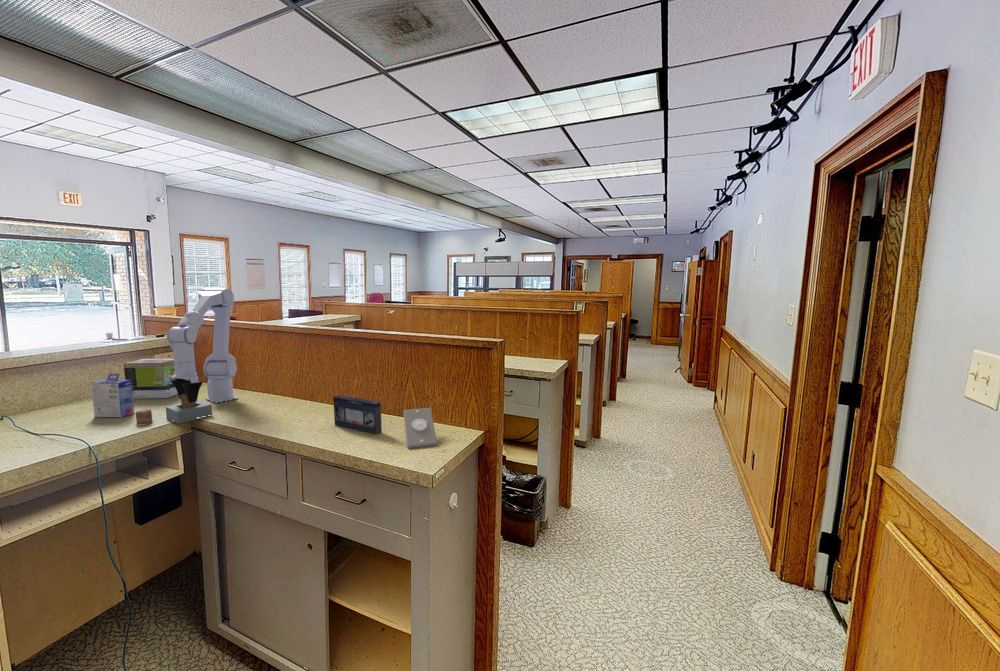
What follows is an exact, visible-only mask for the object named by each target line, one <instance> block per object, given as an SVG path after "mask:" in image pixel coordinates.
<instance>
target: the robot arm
mask: <svg viewBox="0 0 1000 671" xmlns="http://www.w3.org/2000/svg"><path fill="white" fill-rule="evenodd" d="M197 294H198V300H197V302H196V304H195V306H194V308H193V309H192V311H186V313H185V314H184V315H183V317H182V318H181V319H180V320H179V322H178V323H177V324H176V326H173V327H171V328H169V329H168V330H167V333H166V334H167V335H166V339H167V342H168V343H169V346H170V349H171V350H172V355H173V356H172V359H174V368H175V372H174V376H171V378H173V379H172V380H170V381H171V382H172V383H173V385H174V386H175V388H176V390H177V393H178V394H177V395H178V396H177V397H178V398H179V399H180V400H181V395H182V394H187V398H188V401H189V403H192V402H197V400H198V399H199V393H200V389H201V387H202V386H203V381H202V380H199V376H198V375H197V374H198V373H197V371H196V370H197V369H196V360H195V348H194V347H195V346H194V343H195V342H196V341H197V337H198V330H199V328H200V327H201V326H202V324H204V321H205V318H204V316H205V314H207V312H208V311H213V313H214V323H213V324H214V325H213V340H212V341H213V342H212V343H213V344H212V353H210V355H207V357H206V358H205V360H204V365H203V369H202V370H203V371H202V372H203V374H204V376H205V377H207V379H208V380H207V382H206V383H207V384H206V387H207V396H208V397H206V398H205V400H206V399H207V400H206V401H209V400H210V401H209V402H211V403H214V402H215V404H219V403H218V402H220V403H224V402H223V401H225V402H229V401H233V399H234V400H238V399H239V397H238V396H234V387H233V386H234V385H233V384H234V383H233V377H234V376H235V375H236V374H237V370H238V366H237V360H236V357H235V356H234V355H232V354H231V353H229V349H230V348H229V345H230V344H229V343H230V326H231V325H230V323H231V312H232V311H233V309H234V305H235V304H234V302H235V299H234V298H235V296H234V295H235V294H234V293H233V291H232V290H231V288H229V287H202V288H201V289H199V292H197ZM174 378H175V379H174ZM228 400H229V401H228Z"/></svg>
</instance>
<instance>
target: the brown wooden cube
mask: <svg viewBox="0 0 1000 671" xmlns="http://www.w3.org/2000/svg"><path fill="white" fill-rule="evenodd" d="M152 413H153V412H152V409H141V410H137V411H135V419H136V420H135V421H136V425H137V424H138V426H140V425H139V424H145V425H149V424H152V423H153V422H152V421H153V415H152ZM151 422H152V423H151ZM148 423H149V424H148Z"/></svg>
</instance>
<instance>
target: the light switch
mask: <svg viewBox="0 0 1000 671" xmlns="http://www.w3.org/2000/svg"><path fill="white" fill-rule="evenodd" d="M403 421H404V430H405V439H406V446H407V449H417V448H425V447H427V448H428V447H435V446H437V444H438V442H437V436H436V430H435V424H434V419H433V413H432V408H431V407H424V408H411V409H403Z"/></svg>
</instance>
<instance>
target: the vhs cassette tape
mask: <svg viewBox="0 0 1000 671" xmlns="http://www.w3.org/2000/svg"><path fill="white" fill-rule="evenodd" d="M381 406H382V405H381V402H378V401H375V400H369V399H363V398H357V397H351V396H345V395H340V394H338V395H335V396H334V395H333V416H334V426H335V427H340V428H345V429H349V430H354V431H357V432H361V433H366V434H371V435H379V434H382V432H383V431H382V430H383V429H382V428H383V427H382V409H381V408H382V407H381Z"/></svg>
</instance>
